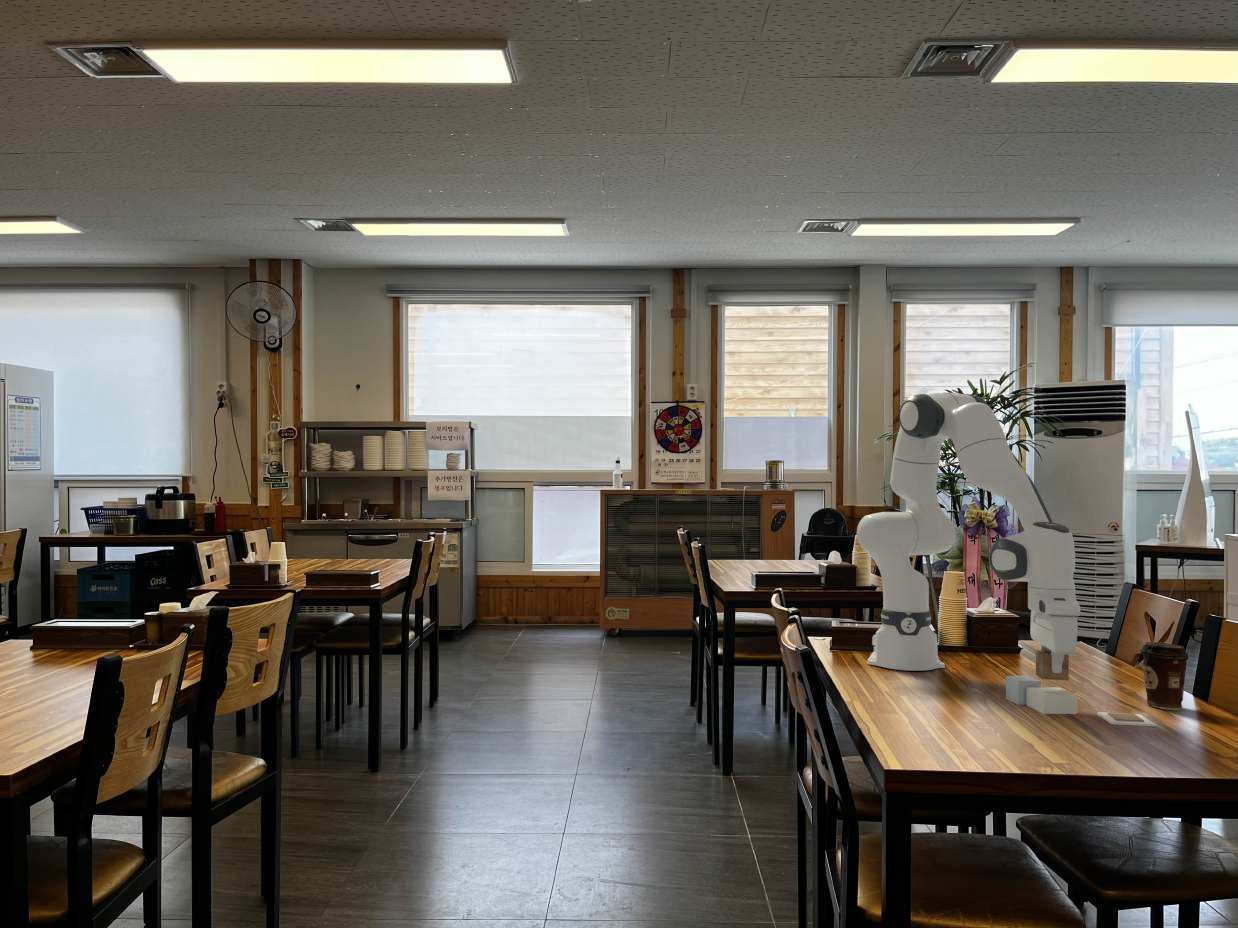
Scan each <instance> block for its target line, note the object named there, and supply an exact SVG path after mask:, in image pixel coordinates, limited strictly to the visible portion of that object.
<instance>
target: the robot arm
mask: <svg viewBox="0 0 1238 928" xmlns="http://www.w3.org/2000/svg"><path fill="white" fill-rule="evenodd" d="M899 409H900V410H899V413H898V420H899V421H898V422H899V424H900V427H899V430H898V433H897V436H896V441H895V443H894V444H895V445H894V449H893V450H894V451H893V457H892V464H891V465H892V466H891V471H890V480H889V485H890V487H891V490H892V491H893V493H894V494H895V495H896V496H898V497H900V498H902V500H904V501H905V511H881V512H875V513H870V514H866V515H864V516H863V517H862V518H861V519H860V521H859V522H858V525H857V528H856V538H857V542H858V544H859V546H860V548H861V549H863V551H864V552H866V553H867V554H868V555H869V556H870V557H871V558H872V559H873V561H874V562H875V563H876V566H877V568H878V570H879V573H880V576H881V581H882V584H881V585H882V598H883V601H882V605H883V607H882V608H881V613H880V617H881V619H880V622H881V626H880V627H879V628H878V629H877V631H876V632H875V634H873V636H872V638H871V639H872V640H871V641H872V642H871V645H872V646H873V652H872V653H871V654H870V656H869V657H868V658H867V661H866V665H872V666H876V667H877V666H878V667H883V668H884V669H885V668H886V669H891V670H899V671H914V672H915V671H918V672H919V671H931V670H935V669H936V670H937V669H945V668H946V666H945V665H946V664H945V663H944V662H942V661H941V660H939V659H938V658H939V657H938V654H939V653H938V636H937V635H938V634H937V633H935V631H933V630H932V628H931V624H932V623H931V622H932V621H931V620H932V616H931V615H932V614H931V611H930V606H929V605H930V604H929V603H930V602H929V601H930V597H929V595H930V584H929V581H928V579H927V577H926V576H925V575H924V574H923V573H921V572H920V571H918V570H916V569H914V567H913V566H912V564H911V559H910V556H932V555H937V554H941V553H945V552H947V551H949V550H950V549H952V546H953V545H954V544H955V541H956V537H957V535H956V534H957V533H956V528H955V524H954V522H953V521H952V520H951V518H950V517H949V516H948V515H947V514H946V513H945V512H944V510H942V507H941V506H940V503H939V500H938V499H939V498H938V495H937V490H938V489H937V486H938V475H939V466H940V458H941V448H942V445H943V443H944V442H945V441H946V440H949V439H951V441H952V443H953V447H954V450H955V453H956V457H957V461H958V465H959V467H960V470H961V471H962V474H963V476H964V477H965V478H966V480H967V481H968V482H969V483H970V484H972V485H973V486H975V487H977V488H979V489H982V490H985V491H988V492H990V493H992V494H994V495H996V496H999V497H1000V498H1002V499H1004V500H1005V501H1007V503H1009V504H1010V505H1011V506H1012V508H1013V509H1014V511H1015V513H1016V514H1017V517H1018V519H1019V521H1020V523H1021V526H1022V527H1023V531H1021V532H1019V533H1017V534H1016V533H1015V534H1013V535H1010V536H1006V537H1003V538H999V539H997V540H996V541H995V542H994V543H992V545H991V548H990V550H989V553H988V555H989V556H988V563H989V566H990V569H991V570H992V572H993V574H994V575H995V576H996V577H997V578H998V579H999V580H1002V581H1006V582H1022V583H1023V582H1027V608H1028V609H1029V610H1030V629H1029V630H1030V638H1031V639H1032V640H1033V641H1035V642H1036V643H1039V650H1043V651H1051V655H1052V663H1051V671H1052V672H1054V673H1061V672H1062V663H1063V660H1064V654H1065V655H1074V654H1075V653H1076V649H1077V641H1078V626H1079V625H1078V617H1079V616H1080V615H1081V606H1080V603H1079V602H1078V601H1077V596H1076V584H1075V580H1074V573H1075V569H1076V550H1075V540H1074V537H1073V534H1072V531H1071V530H1070V529H1071V528H1068V527H1067V526H1066V525H1063V524H1060V523H1055V522H1053V520H1052V518H1051V516H1050V514H1049V512H1048V509H1047V507H1046V506H1045V505H1046V504H1044V501H1043V499H1042V497H1041V496H1040V493H1039V490H1038V489H1037V486H1035V484H1034V482H1033V480H1032V479H1031V477H1030V475H1028V474H1027V472H1026V471H1025V470H1024V469H1023V468H1022V467H1021V465H1020V464H1019V462H1018V461H1017V459H1016V458H1015V456H1014V455H1013V452H1012V449H1010V445H1009V443H1008V440H1007V438H1006V434H1005V432H1004V430H1003V428H1002V426H1001V424H1000V422H999V420H998V418H997V416H996V414H995V413H994V410H993V409H992V408H991V407H990V405H989V404H988V402H987V401H986V400H985V399H984V398H982V397H980V396H978V395H975V394H972V393H958V392H942V393H928V394H927V393H918V394H914V395H910V396H909V397H907V398H906V399H905V400H903V402H902V404H901V405H900V408H899Z"/></svg>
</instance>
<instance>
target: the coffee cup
mask: <svg viewBox="0 0 1238 928" xmlns="http://www.w3.org/2000/svg"><path fill="white" fill-rule="evenodd" d="M1139 652H1140V653H1141V654H1142V655H1143V662H1142V667H1143V678H1144V688H1145V692H1146V702H1147V703H1146V704H1147V705H1148V706H1151V707H1153V708H1157V709H1162V710H1168V711H1181V710H1182V709H1183V705H1182V702H1183V700H1184V693H1185V692H1184V691H1185V688H1184V687H1185V679H1186V671H1187V661H1188V660H1189V658H1190V657H1189V654H1188V653H1187V652H1186V650H1185V647H1184V646H1181V645H1178V644H1171V643H1167V642H1159V641H1158V642H1157V641H1147V642H1145V644H1143V646H1142V648H1141V649H1140V650H1139Z"/></svg>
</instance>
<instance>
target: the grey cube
mask: <svg viewBox="0 0 1238 928" xmlns="http://www.w3.org/2000/svg"><path fill="white" fill-rule="evenodd" d="M1027 687H1042V680H1041V679H1040V680H1039V679H1037V678H1035V677H1032V676H1030V675H1018V676H1017V675H1014V676H1013V675H1006V676H1005V700H1007V701H1010V702H1012V703H1014V704H1016V705H1020V706H1021V705H1022V706H1023V705H1026V706H1027Z"/></svg>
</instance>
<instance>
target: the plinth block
mask: <svg viewBox="0 0 1238 928" xmlns="http://www.w3.org/2000/svg"><path fill="white" fill-rule="evenodd" d="M1026 706H1027V707H1029V708H1031V709H1033V710H1035V711H1037V712H1039V713H1040V714H1043V715H1078V695H1077V694H1076V693H1074V692H1071V691H1068V690H1067V689H1064V688H1062V687H1060V686H1059V687H1058V686H1055V687H1052V686H1051V687H1047V686H1045V687H1044V686H1043V687H1042V686H1041V687H1027V705H1026Z"/></svg>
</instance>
